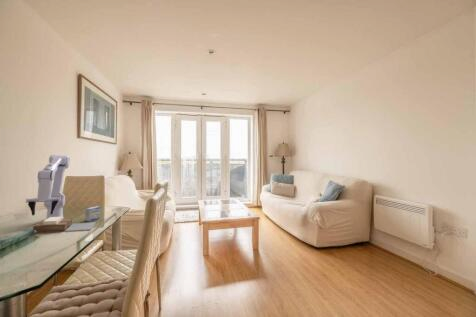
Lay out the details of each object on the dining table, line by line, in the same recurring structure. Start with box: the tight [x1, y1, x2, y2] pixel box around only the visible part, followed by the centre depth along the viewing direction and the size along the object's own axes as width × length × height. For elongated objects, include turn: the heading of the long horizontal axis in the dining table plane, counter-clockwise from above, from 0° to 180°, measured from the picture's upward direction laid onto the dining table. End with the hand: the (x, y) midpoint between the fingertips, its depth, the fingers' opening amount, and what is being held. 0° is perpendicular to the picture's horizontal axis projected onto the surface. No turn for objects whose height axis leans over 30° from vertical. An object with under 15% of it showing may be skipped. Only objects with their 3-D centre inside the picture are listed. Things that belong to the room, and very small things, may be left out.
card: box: [42, 216, 63, 225], centre depth 121 cm, size 9×6×2 cm, turn 24°
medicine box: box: [84, 205, 101, 222], centre depth 143 cm, size 8×4×9 cm, turn 168°
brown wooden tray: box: [32, 218, 73, 234], centre depth 121 cm, size 12×14×4 cm
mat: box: [64, 221, 97, 233], centre depth 127 cm, size 14×12×1 cm
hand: (42, 214), depth 116 cm, fingers open, 7 cm apart
